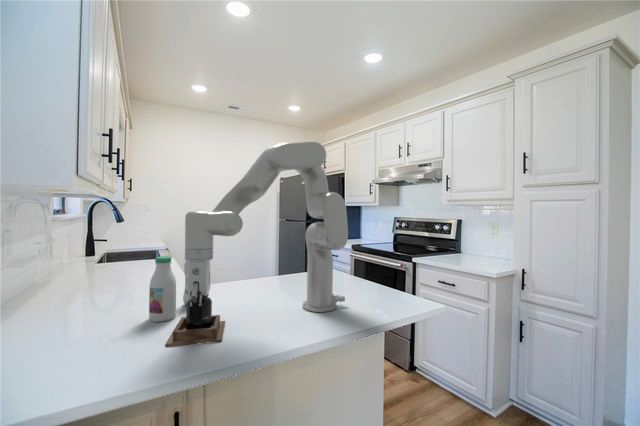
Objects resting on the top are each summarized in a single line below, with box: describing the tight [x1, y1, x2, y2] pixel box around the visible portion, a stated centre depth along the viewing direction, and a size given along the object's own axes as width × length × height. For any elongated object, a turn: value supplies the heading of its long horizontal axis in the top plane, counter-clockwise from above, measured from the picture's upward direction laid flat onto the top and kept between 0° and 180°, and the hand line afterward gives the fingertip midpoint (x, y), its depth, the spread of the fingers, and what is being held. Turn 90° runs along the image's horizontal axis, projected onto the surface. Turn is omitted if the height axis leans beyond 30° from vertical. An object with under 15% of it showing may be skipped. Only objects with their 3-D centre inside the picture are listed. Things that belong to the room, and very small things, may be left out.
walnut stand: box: [164, 314, 226, 348], centre depth 85 cm, size 14×14×3 cm
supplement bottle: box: [185, 293, 213, 330], centre depth 86 cm, size 7×7×12 cm
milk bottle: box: [148, 255, 177, 323], centre depth 97 cm, size 8×8×20 cm
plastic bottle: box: [182, 260, 191, 306], centre depth 111 cm, size 6×7×20 cm
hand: (198, 314), depth 85 cm, fingers open, 8 cm apart
